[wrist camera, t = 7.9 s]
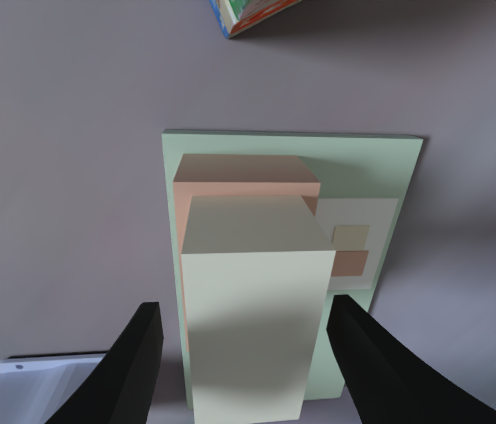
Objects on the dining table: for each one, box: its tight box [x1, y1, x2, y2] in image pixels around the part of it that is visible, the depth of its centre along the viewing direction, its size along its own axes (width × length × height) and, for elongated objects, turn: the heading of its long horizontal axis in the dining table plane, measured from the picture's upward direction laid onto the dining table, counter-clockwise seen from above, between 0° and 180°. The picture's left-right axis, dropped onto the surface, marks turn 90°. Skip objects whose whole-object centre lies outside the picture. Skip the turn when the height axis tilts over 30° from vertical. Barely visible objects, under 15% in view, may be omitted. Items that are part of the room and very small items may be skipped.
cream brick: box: [181, 195, 336, 424], centre depth 12 cm, size 4×9×4 cm, turn 177°
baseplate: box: [161, 129, 423, 410], centre depth 19 cm, size 14×24×5 cm, turn 177°
